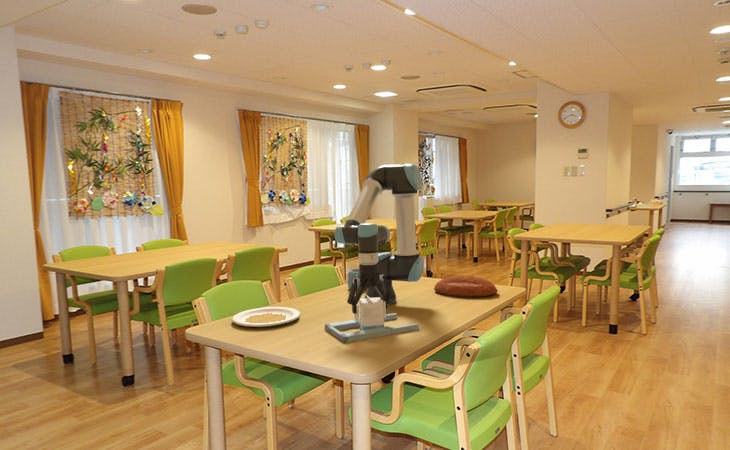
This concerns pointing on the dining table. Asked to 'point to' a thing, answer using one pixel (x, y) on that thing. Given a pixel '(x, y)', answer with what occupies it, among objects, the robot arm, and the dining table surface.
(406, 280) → the robot arm
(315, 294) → the dining table surface
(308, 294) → the dining table surface
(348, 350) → the dining table surface
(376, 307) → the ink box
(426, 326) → the dining table surface
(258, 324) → the plate
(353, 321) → the dock
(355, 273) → the mug
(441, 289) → the bread
